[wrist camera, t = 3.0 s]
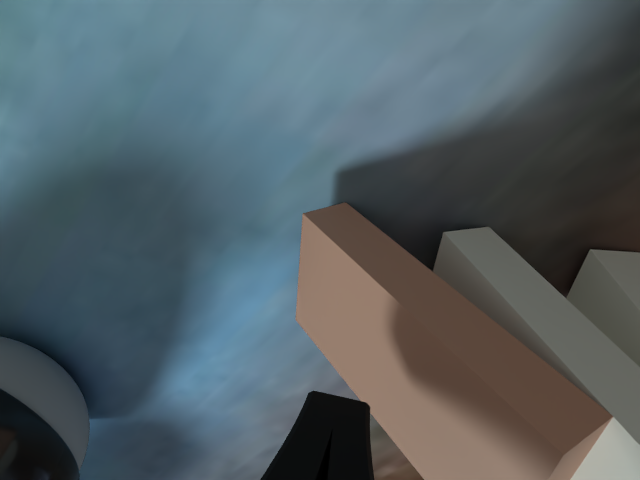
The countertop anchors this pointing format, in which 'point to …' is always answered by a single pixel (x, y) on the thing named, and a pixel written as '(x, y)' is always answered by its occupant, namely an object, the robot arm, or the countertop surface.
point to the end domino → (435, 361)
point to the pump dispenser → (39, 417)
